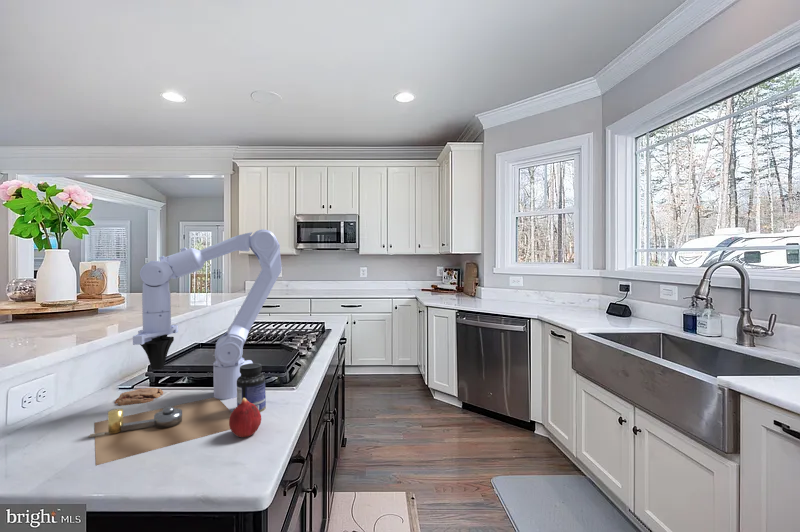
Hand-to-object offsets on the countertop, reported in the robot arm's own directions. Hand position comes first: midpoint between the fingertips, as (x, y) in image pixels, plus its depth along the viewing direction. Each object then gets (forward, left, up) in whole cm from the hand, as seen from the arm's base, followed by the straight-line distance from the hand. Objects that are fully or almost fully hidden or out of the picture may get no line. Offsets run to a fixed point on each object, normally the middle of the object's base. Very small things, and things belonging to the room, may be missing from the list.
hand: (157, 368), depth 92 cm
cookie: (+3, -8, -10) cm, 13 cm away
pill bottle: (-16, +18, -10) cm, 26 cm away
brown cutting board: (0, +15, -9) cm, 18 cm away
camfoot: (+4, +14, -8) cm, 17 cm away
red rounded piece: (-11, +30, -10) cm, 33 cm away
